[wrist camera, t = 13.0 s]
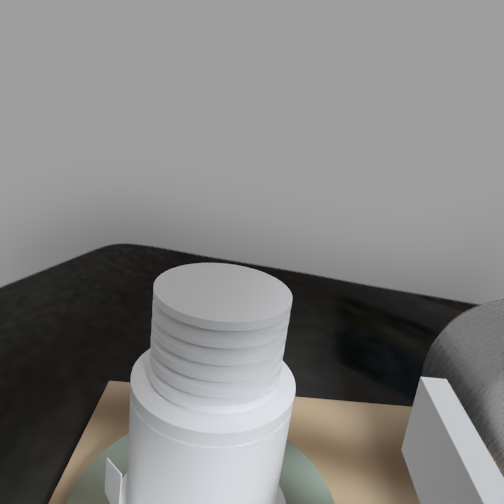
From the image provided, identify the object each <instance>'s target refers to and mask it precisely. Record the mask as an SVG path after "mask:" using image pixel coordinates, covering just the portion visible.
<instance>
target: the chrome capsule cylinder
mask: <svg viewBox="0 0 504 504" xmlns="http://www.w3.org/2000/svg"><path fill="white" fill-rule="evenodd" d="M422 377H430V378H441V379H447V380H448V382H449V384H450V386H451V387H452V389H453V391H454V393H455V394H456V396H457V398H458V399H459V401H460V403H461V405H462V406H463V408H464V410H465V412H466V413H467V415H468V417H469V418H470V420H471V422H472V424H473V425H474V427H475V429H476V431H477V432H478V434H479V436H480V437H481V439H482V441H483V443H484V444H485V446H486V448H487V450H488V451H489V453H490V455H491V456H492V458H493V460H494V462H495V463H496V465H497V467H498V469H499V470H500V472H501V474H502V475H503V477H504V299H502V300H497V301H493V302H490V303H487V304H482V305H479V306H476V307H474V308H471V309H469V310H467V311H465V312H463V313H462V314H460V315H459V316H457V317H456V318H454V319H453V320H452V321H451V322H450V323H449V324H448V325H447V326H446V327H445V328H444V329H443V330H442V332H441V333H440V334H439V336H438V337H437V338H436V339H435V341H434V342H433V344H432V345H431V347H430V349H429V351H428V353H427V355H426V358H425V361H424V364H423V369H422Z"/></svg>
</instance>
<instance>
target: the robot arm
mask: <svg viewBox="0 0 504 504" xmlns="http://www.w3.org/2000/svg"><path fill="white" fill-rule="evenodd" d="M401 451H402V453H403V456H404V459H405V462H406V465H407V468H408V470H409V473H410V476H411V479H412V482H413V485H414V487H415V490H416V493H417V496H418V499H419V502H420V504H504V477H503V475H502V474H501V472H500V470H499V469H498V467H497V465H496V463H495V462H494V460H493V458H492V456H491V455H490V453H489V451H488V450H487V448H486V446H485V444H484V443H483V441H482V439H481V437H480V436H479V434H478V432H477V431H476V429H475V427H474V425H473V424H472V422H471V420H470V418H469V417H468V415H467V413H466V412H465V410H464V408H463V406H462V405H461V403H460V401H459V399H458V398H457V396H456V394H455V393H454V391H453V389H452V387H451V386H450V384H449V382H448V380H447V379H441V378H430V377H420V380H419V384H418V388H417V392H416V395H415V399H414V403H413V407H412V411H411V414H410V418H409V422H408V426H407V430H406V433H405V437H404V441H403V445H402V449H401Z"/></svg>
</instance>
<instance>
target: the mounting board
mask: <svg viewBox="0 0 504 504" xmlns="http://www.w3.org/2000/svg"><path fill="white" fill-rule="evenodd" d="M411 411H412V407H409V406H397V405H386V404H374V403H362V402H351V401H339V400H327V399H316V398H304V397H294V402H293V408H292V413H291V419H290V425H289V430H288V436H287V441H286V447H285V452H284V458H283V464H282V469H281V475H280V480H279V486H280V488H281V490H282V492H283V495H284V498H285V501H286V504H420V502H419V499H418V496H417V493H416V490H415V487H414V485H413V482H412V479H411V476H410V473H409V470H408V468H407V465H406V462H405V459H404V456H403V453H402V451H401V449H402V445H403V441H404V437H405V433H406V430H407V426H408V422H409V418H410V414H411ZM129 413H130V383H129V382H118V381H109V382H108V384H107V386H106V388H105V390H104V393H103V395H102V397H101V399H100V401H99V403H98V405H97V407H96V409H95V411H94V413H93V415H92V417H91V419H90V421H89V423H88V425H87V427H86V429H85V431H84V433H83V435H82V437H81V439H80V441H79V443H78V445H77V447H76V449H75V451H74V453H73V455H72V457H71V459H70V461H69V463H68V465H67V467H66V469H65V471H64V473H63V475H62V477H61V479H60V481H59V483H58V485H57V487H56V489H55V491H54V493H53V495H52V497H51V499H50V501H49V503H48V504H110V502H109V500H108V498H107V496H106V494H105V475H106V459H107V458H109V459H110V461H111V462H112V463H113V464H114V465H115V467H116V468H117V469H118V470H119V471H120V472H121V474H122V478H123V477H124V475H125V474H126V473H127V469H128V441H129Z"/></svg>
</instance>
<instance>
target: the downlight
mask: <svg viewBox="0 0 504 504" xmlns="http://www.w3.org/2000/svg"><path fill="white" fill-rule="evenodd" d="M153 298H154V299H153V306H152V314H153V315H152V325H151V328H152V331H151V347H150V349H148V350H147V351H146V352H144V353H143V354H142V355H141V356H140V357H139V358H138V360H137V361H136V363H135V364H134V366H133V369H132V372H131V382H130V413H129V441H128V469H127V473H126V474H125V475H124V477H123V478H122V474H121V472H120V471H119V470H118V469H117V468H116V467H115V465H114V464H113V463H112V462H111V461H110V459H109V458H107V459H106V475H105V494H106V496H107V498H108V500H109V502H110V504H286V501H285V498H284V495H283V492H282V490H281V488H280V486H279V480H280V475H281V469H282V464H283V458H284V452H285V447H286V441H287V436H288V430H289V425H290V419H291V413H292V408H293V402H294V397H295V391H296V386H295V380H294V377H293V374H292V372H291V371H290V369H289V368H288V366H287V365H286V364H285V363H284V362H283V355H284V349H285V342H286V336H287V330H288V329H287V328H288V324H289V318H290V311H291V306H292V299H293V298H292V293H291V291H290V290H289V288H288V287H287V286H286V285H285V284H284V283H283V282H281V281H280V280H278V279H277V278H275V277H273V276H271V275H269V274H267V273H264V272H262V271H259V270H256V269H252V268H248V267H244V266H239V265H233V264H224V263H195V264H188V265H182V266H178V267H175V268H172V269H169V270H167V271H165V272H164V273H162V274H161V275H159V276H158V277H157V279H156V280H155V282H154V287H153Z"/></svg>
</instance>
